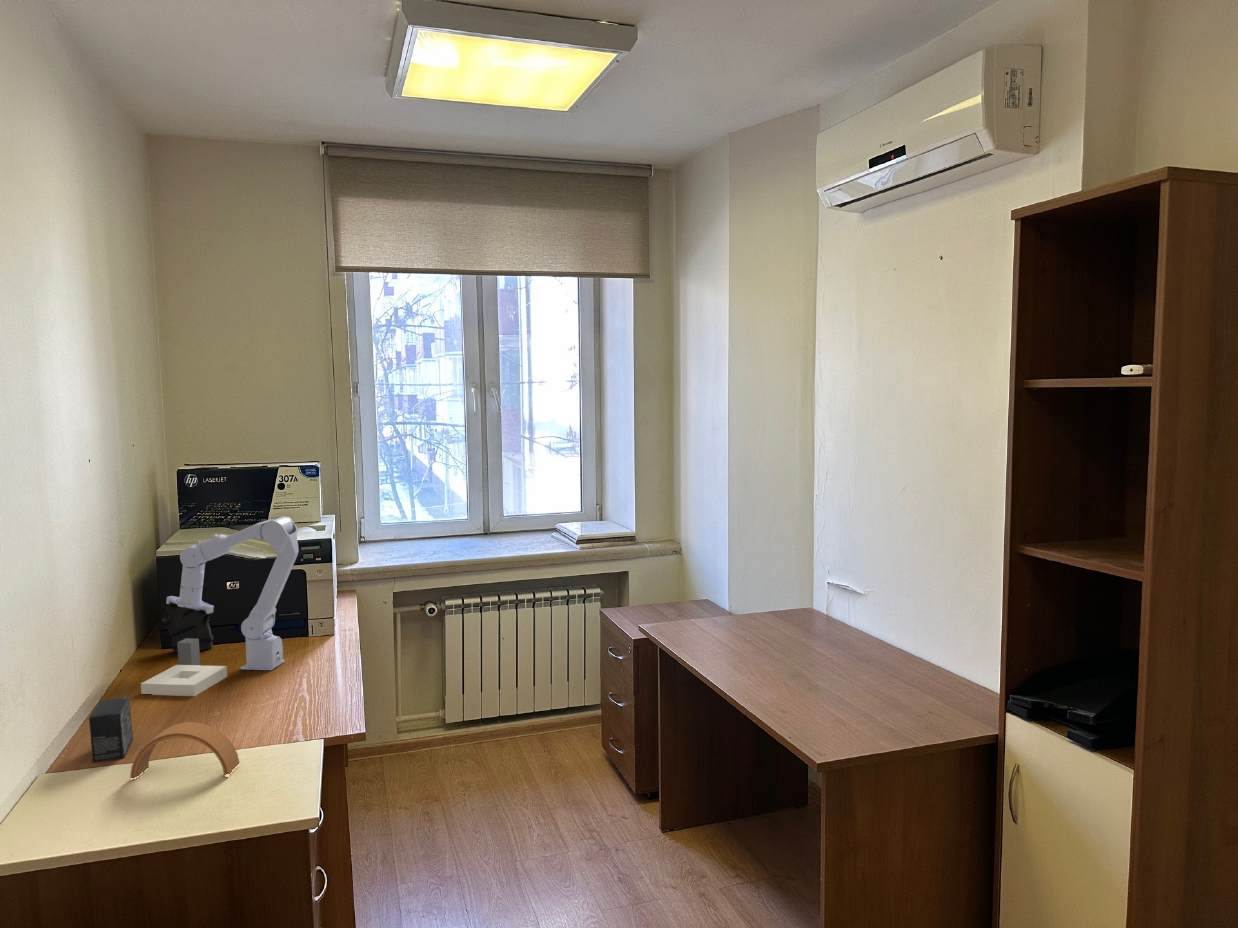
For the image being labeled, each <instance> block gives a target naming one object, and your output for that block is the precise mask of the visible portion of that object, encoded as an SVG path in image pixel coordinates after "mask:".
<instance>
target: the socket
mask: <svg viewBox="0 0 1238 928" xmlns="http://www.w3.org/2000/svg"><path fill="white" fill-rule="evenodd" d="M227 677H228V666H227V665H202V664H200V665H179V664H175V665H173V666H171V667H170V668H168V669H166V670H164V671H162V672H160V673H158V674H156V675H154V676H152V677H150V678H148V679H147V680H145V681H143V682H141V683H140V693H141V695H142V694H152V695H151V696H176V697H177V696H178V697H196V696H198V695H199V694H201V693H203V692H204V691H207V690H208V689H209V688H210V687H212V686H214V685H215V684H217V683H219V682H221V681H223V680H224V679H226V678H227Z"/></svg>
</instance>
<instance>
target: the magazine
mask: <svg viewBox="0 0 1238 928" xmlns="http://www.w3.org/2000/svg"><path fill="white" fill-rule="evenodd" d="M196 612H199V610H195V609H191V608H186V607H185V608H184V611H183V614H182V618H181V625H180V629H178V630H175V631H174V630H172V624H171V620H170V617H169V615H167V616H168V618H166V619H165V617H164V619H163V618H162V620H161V621H162V623H163V624H162V626H163V627H166V629H167V631H168V633H169V635H168V638H171V644H172V645H171V646H170V647H171V650H172V652H174V653H173V654H176V653H177V652H178V646H177V642H179V641H181V640H184V639H186V638H191V639H199V651H205V650H204V649H209V650H212V648H213V645H214V643H213V640H214V634H212V629H211V626H209V625H210V623H208V622H210V618H209V619H208V621H207V623H206V624H205V627H204V629H203V632H202V635H199V636H195V634H194V630H195V621H194V616H193V613H196ZM175 652H176V653H175ZM177 654H178V653H177Z"/></svg>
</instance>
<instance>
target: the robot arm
mask: <svg viewBox="0 0 1238 928" xmlns="http://www.w3.org/2000/svg"><path fill="white" fill-rule="evenodd" d="M297 534H298V527H297V525H296V524H295V522H294V521H293V519H292V518H291V517H289V516H285V515H282V516H279V517H277V518H276V519H275V518H271V519H267V520H264V521H260V522H257V523H255V524H252V525H250V526H249V527H246V528H244V529H241V530H239V531H236V532H235V533H232V534H229V535H225V534H218V533H216V534H213V535H211V536H210V538H209V539H206V540H203V541H201V540H199V541H198V542H195V544H193V545H192V546H188V547H186V548H185V549H183V550H182V551H181V553H180V555H179V560H180V563H181V565H182V571H181V578H180V579H181V581H180V588H179V596H175V595H170V596H166V601H165V602H166V603H165V604H167V605H168V606H165V611H166V612H167V614H168V616H169V617H170V620H171V624H172V630H174V631H175V630H178V629H180V625H181V618H182V614H183V611H184V608H185V607H186V608H191V609H195V610H199V612H196V613H193V616H194V621H195V630H194V634H195V636H199V635H202V632H203V629H204V627H205V624H206V623H207V621H208V619H209V620H210V618H211V616H212V615H213V613H214V608H215V606H214V605H213V604H209V603H208V602H205V601H203V599H202V597H203V587H204V578H205V568H206V563H207V562H208V561H212V560H214V559H217V558H219V557H221V556H224V555H226V554H229V553H230V552H231V550H232V547H233V546H236V545H239V544H241V543H243V542H244V543H245V542H246V541H249V540H252V539H254V538H255V539H258V540H264V541H265V542H266V543H268V544H269V545H270V546H271V547H272V548H273V549H274V551H275V553H276V558H275V560H274V562H273V565H272V567H271V570H270V572H269V574H268V577H267V579H266V582H265V583H264V586H263V588H262V591H261V593H260V596H259V597H258V600H257V602H256V604H255V605H254V607H253V608H252V610H251V611H250V612H249V615H248V617H247V618H244V620H243V621H242V622H241V625H240V629H241V630H240V631H241V633H242V635H243V636H244V637H245V655H246V656H245V657H246V664H244V665H243V666H240V670H246V671H249V670H250V671H251V670H252V671H272V670H274V669H276V668H277V667H279V666H280V665H282V664H284V663H285V661H286V660H285V659H284V648H283V639H282V638H281V637H280V636H277V635H274V634H273V630H272V628H273V627H274V625H275V622H276V612H277V608H276V607H277V604H278V602H279V600H280V598H281V594H282V592H283V590H284V588H285V586H286V583H287V581H288V579H289V576H290V574H291V571H292V569H293V566H294V564H295V562H296V560H297V557H298V554H299V550H300V549H299V544H298V543H299V541H298V535H297Z"/></svg>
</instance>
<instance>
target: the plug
mask: <svg viewBox="0 0 1238 928" xmlns="http://www.w3.org/2000/svg"><path fill="white" fill-rule="evenodd" d="M177 646H178V653H177V660H178V665H201V654H200V651H201V650H199V639H191V638H186V639H184V640H181V641H179V642H177Z"/></svg>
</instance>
